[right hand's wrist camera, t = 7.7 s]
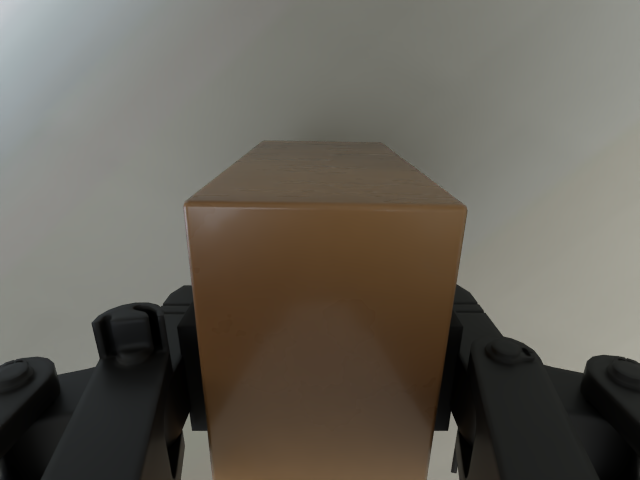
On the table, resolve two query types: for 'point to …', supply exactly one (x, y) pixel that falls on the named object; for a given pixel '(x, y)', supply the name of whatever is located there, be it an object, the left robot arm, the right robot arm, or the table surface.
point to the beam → (322, 311)
